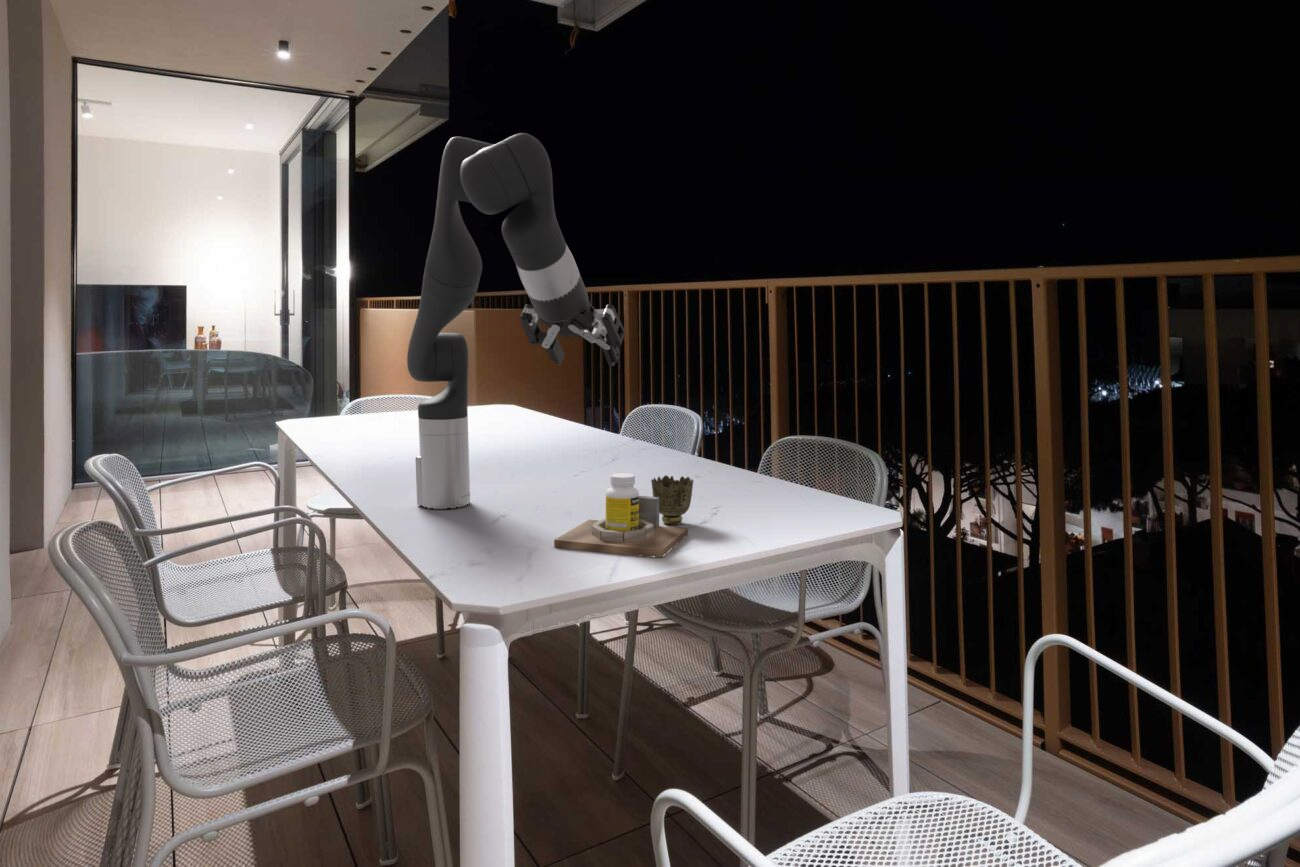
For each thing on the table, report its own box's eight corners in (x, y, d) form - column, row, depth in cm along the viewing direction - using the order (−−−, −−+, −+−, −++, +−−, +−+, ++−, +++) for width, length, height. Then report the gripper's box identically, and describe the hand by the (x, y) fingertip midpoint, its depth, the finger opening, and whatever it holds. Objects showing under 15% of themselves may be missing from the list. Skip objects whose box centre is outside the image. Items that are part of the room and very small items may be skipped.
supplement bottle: (634, 539, 130) (634, 479, 128) (602, 537, 131) (601, 477, 129) (642, 530, 135) (642, 472, 134) (610, 529, 136) (610, 471, 135)
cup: (698, 520, 147) (698, 476, 146) (686, 530, 140) (686, 484, 139) (658, 516, 150) (659, 473, 149) (645, 526, 143) (645, 481, 142)
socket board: (554, 547, 130) (553, 509, 129) (589, 526, 143) (589, 491, 142) (661, 558, 124) (661, 518, 123) (687, 535, 137) (688, 499, 136)
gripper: (608, 259, 108) (638, 343, 120) (513, 260, 113) (550, 341, 125) (593, 298, 104) (625, 381, 116) (494, 298, 109) (535, 378, 121)
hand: (586, 360), depth 121 cm, fingers open, 8 cm apart
